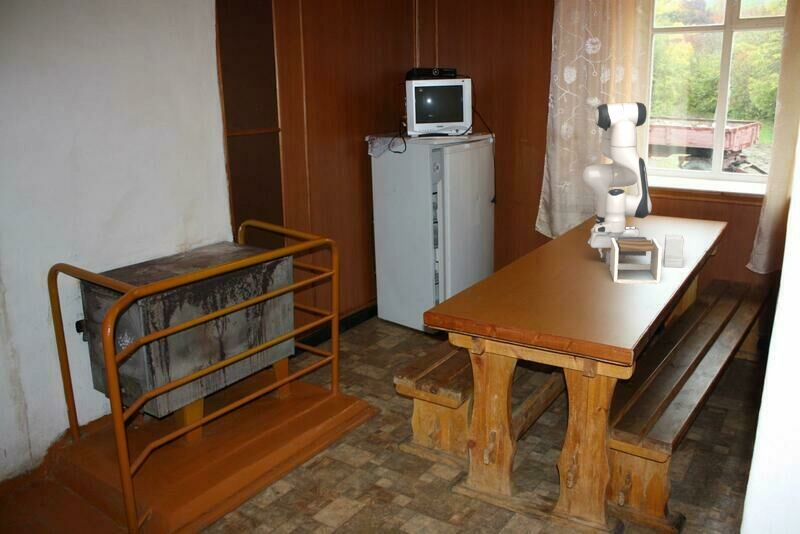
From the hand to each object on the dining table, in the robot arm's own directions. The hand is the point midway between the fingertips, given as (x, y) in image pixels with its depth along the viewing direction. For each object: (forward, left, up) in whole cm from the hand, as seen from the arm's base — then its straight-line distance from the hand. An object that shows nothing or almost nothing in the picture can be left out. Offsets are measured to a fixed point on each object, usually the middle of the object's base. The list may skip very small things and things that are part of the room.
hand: (613, 257), depth 307 cm
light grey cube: (0, -1, -3) cm, 3 cm away
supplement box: (+3, +24, -3) cm, 25 cm away
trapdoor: (+17, +6, +4) cm, 18 cm away
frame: (+20, +6, -2) cm, 21 cm away
